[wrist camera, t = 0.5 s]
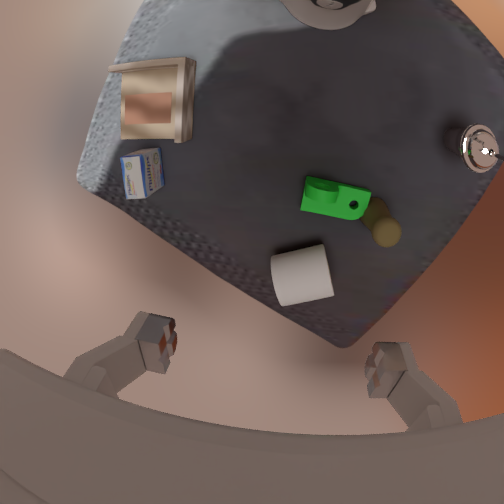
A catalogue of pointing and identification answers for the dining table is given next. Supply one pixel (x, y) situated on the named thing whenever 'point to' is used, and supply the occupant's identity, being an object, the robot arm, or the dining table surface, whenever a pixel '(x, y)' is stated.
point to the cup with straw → (474, 146)
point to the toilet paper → (301, 275)
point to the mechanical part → (334, 198)
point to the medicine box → (142, 172)
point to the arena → (157, 98)
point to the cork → (381, 223)
